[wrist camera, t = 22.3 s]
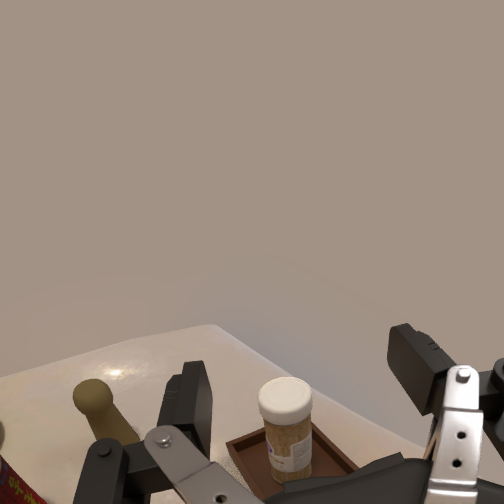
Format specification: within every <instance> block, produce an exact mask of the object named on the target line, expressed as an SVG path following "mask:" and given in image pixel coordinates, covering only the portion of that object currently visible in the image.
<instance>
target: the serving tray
mask: <svg viewBox="0 0 504 504" xmlns="http://www.w3.org/2000/svg"><path fill="white" fill-rule="evenodd" d="M311 428H312V456H311V466H312V472H311V475H310V477H325V476H345V475H348V474H350V473H352V472H354V471H356V470H358V469H360V468H359V467H358V466H357V465H355V464H354V463H353V462H352V461H351V460H350V459H349V458H348V457H347V456H346V455H345V454H344V453H343V452H342V451H341V450H340V449H339V448H338V447H337V446H336V445H335V444H334V443H332V442H331V441H330V440H329V439H328V438H327V437H326V436H325V435H324V434H323V433H322V432H321V431H320V430H319V429H318V428H317V427H316V426H315V425H314V424H313V423H312V422H311ZM226 446H227V449H228V452H229V455H230V456H231V458H232V460H233V461H234V463H235V465H236V466H237V468H238V470H239V471H240V473H241V475H242V476H243V478H244V479H245V481H246V483H247V484H248V486H249V487H250V489H251V491H252V492H253V494H254V495H255V496H256V497H257V498H258V499H260V500H261V501H262V500H263V499H265V498H267V497H268V496H270V495H272V494H274V493H276V492H278V491H281V490H283V485H282V484H280V483H278V482H276V481H275V480H274V479H273V477H272V474H271V462H270V459H269V453H268V446H267V441H266V431H265V427H264V428H261V429H259V430H257V431H254V432H252V433H249V434H247V435H244V436H242V437H239V438H237V439H234V440H232V441H229V442H227V443H226Z"/></svg>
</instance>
